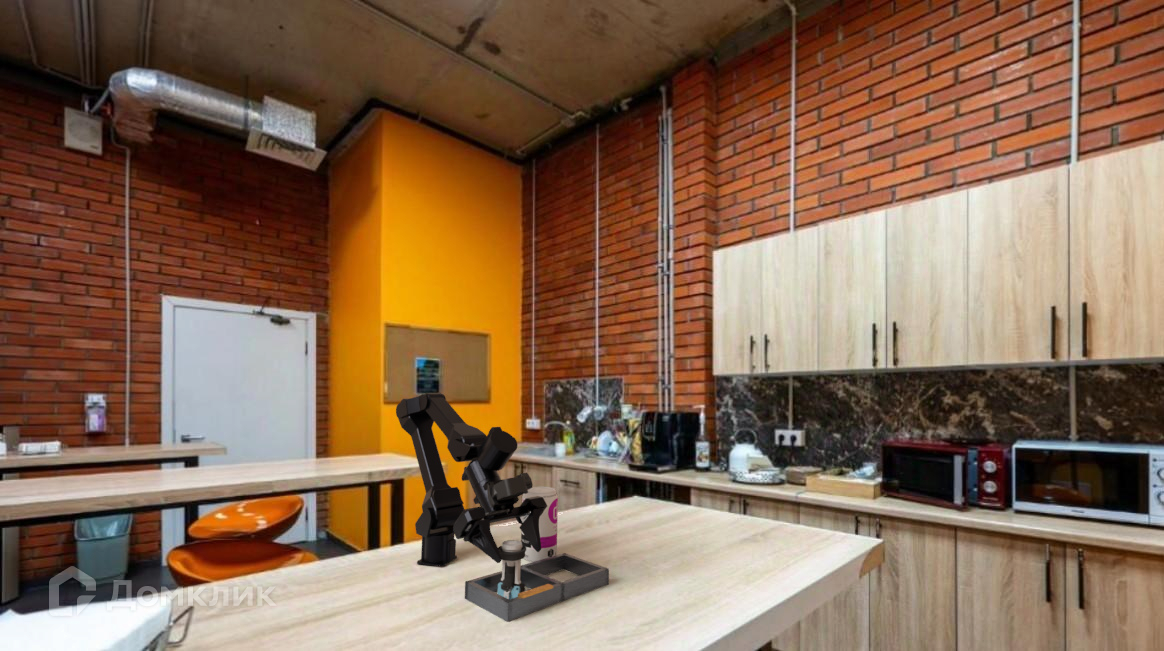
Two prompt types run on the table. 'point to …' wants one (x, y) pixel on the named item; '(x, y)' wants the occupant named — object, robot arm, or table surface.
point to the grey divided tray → (537, 586)
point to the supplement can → (543, 525)
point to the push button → (511, 568)
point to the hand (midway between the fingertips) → (520, 556)
